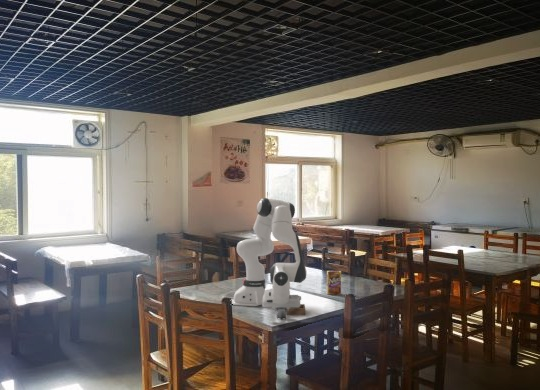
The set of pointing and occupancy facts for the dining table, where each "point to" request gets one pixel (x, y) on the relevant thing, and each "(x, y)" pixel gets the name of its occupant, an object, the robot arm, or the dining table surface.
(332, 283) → the candy box
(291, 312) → the brown wooden square box
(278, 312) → the steel socket
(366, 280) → the dining table surface
